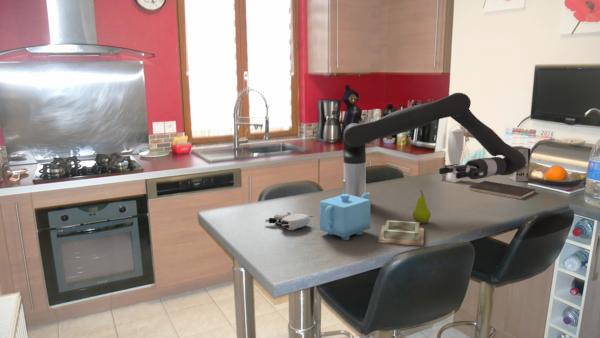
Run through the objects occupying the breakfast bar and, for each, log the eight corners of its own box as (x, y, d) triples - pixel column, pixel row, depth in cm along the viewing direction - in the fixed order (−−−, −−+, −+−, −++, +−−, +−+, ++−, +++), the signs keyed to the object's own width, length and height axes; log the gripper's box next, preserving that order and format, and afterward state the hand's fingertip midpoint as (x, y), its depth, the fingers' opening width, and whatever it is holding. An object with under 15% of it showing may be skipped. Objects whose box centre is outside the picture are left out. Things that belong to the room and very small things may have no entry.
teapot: (338, 245, 144) (338, 203, 141) (314, 236, 152) (313, 197, 149) (381, 228, 158) (381, 190, 155) (357, 221, 166) (357, 185, 163)
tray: (378, 242, 145) (378, 231, 145) (382, 227, 158) (382, 218, 158) (423, 245, 141) (423, 235, 141) (423, 230, 155) (424, 221, 154)
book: (520, 200, 189) (520, 195, 189) (468, 191, 206) (468, 186, 206) (535, 193, 200) (535, 188, 199) (484, 185, 217) (485, 180, 216)
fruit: (430, 225, 160) (432, 193, 157) (412, 225, 161) (414, 192, 158) (429, 220, 166) (430, 188, 163) (412, 219, 167) (413, 188, 165)
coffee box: (528, 181, 220) (531, 148, 216) (515, 181, 220) (517, 149, 217) (519, 177, 229) (522, 145, 225) (507, 177, 229) (509, 146, 226)
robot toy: (263, 228, 164) (291, 235, 153) (262, 216, 163) (290, 222, 152) (287, 220, 172) (316, 226, 162) (286, 208, 171) (315, 213, 161)
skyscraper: (449, 178, 230) (452, 124, 224) (464, 181, 224) (467, 125, 218) (441, 181, 225) (443, 125, 219) (456, 184, 219) (459, 126, 213)
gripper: (467, 155, 176) (434, 160, 169) (496, 161, 163) (463, 166, 157) (466, 174, 178) (434, 179, 171) (495, 181, 165) (462, 187, 158)
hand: (448, 173), depth 164 cm, fingers open, 8 cm apart
